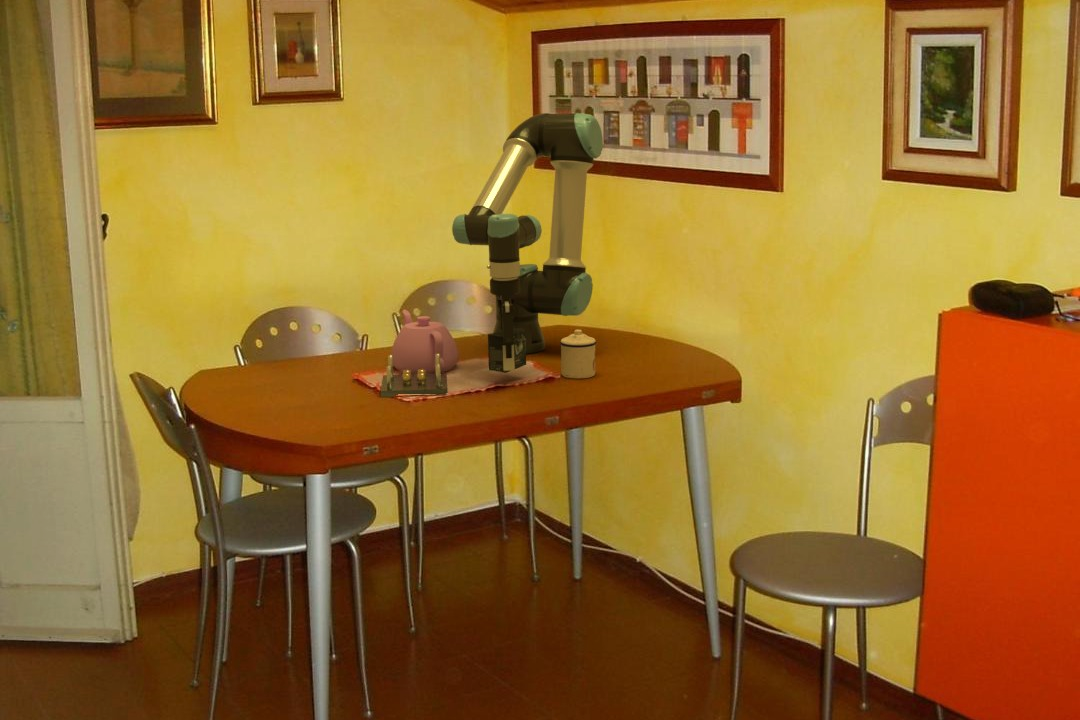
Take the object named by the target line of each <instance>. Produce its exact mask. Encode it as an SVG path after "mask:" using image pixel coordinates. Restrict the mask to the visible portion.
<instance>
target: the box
mask: <svg viewBox="0 0 1080 720" xmlns="http://www.w3.org/2000/svg"><path fill="white" fill-rule="evenodd" d="M513 335H514V366H515V370H516V369H519V368H521V367H524V366H526V365H527V354H526V329H520V328H513ZM506 340H508V339H506ZM500 342H503V330H500V331H498V332H495V333H493V332H492V333H488V334H487V347H488V348H487V349H488V355H487V356H488V371H490V372H498V373H502V374H503V373H504V374H507V373H509V372H512V371H513V370H510V371H504V369H503V346H500Z"/></svg>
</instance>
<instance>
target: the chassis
mask: <svg viewBox="0 0 1080 720" xmlns="http://www.w3.org/2000/svg"><path fill="white" fill-rule="evenodd" d="M435 360H436V365H435V367H436V373H435V374H426V370H425V369H419V370H418V373H417V374H411V370H403V372H402V374H394V365H393V355H391V354H389V355H387V365H386V367H385V368H386V374H383V375H382V380H381V387H380V398H392V397H393V398H394V397H395V396H396V395H398V394H446V393H448V376H447V375H448V374H447V372H442V373H441V366H440V354H439V353H437V354H435Z"/></svg>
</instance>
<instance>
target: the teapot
mask: <svg viewBox="0 0 1080 720" xmlns="http://www.w3.org/2000/svg"><path fill="white" fill-rule="evenodd" d="M402 316H403V326H402V327H401V329H400V330H399V332H398V334H397V335H396V337H395V339H394V341H393V345H392V347H391V352H390V355H393V367H394V368H395V369H396V370H398V371H399V372H401V373H403V370H411V374H417V373H418V370H419V369H425V370H426V374H435V373H436V367H435V365H436V360H435V354H437V353H439V354H440V366H441V373H447V372H448V371H451V370H452V369H453V368H454V367H455V366H456V365H457V363H458V361H459V359H460V356H459V350H458V348H457V347H458V346H457V343H456V341H455V339H454V337H453V336H452V334H451V332H450V331H449V329H448V328H447V326H445V324H443V323H442V322H439V321H430V320H431V317H430V316H428V315H421V316H417V317H416V321H413V318H412V316H411V313H410V311H408V310H407V309H403V310H402Z"/></svg>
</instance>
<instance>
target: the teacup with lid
mask: <svg viewBox="0 0 1080 720" xmlns="http://www.w3.org/2000/svg"><path fill="white" fill-rule="evenodd" d="M559 344H560V347H561V348H560V349H561V350H560V353H561V354H560V355H561V356H560V358H561V359H560V361H561V363H560V367H561V370H560V371H561V372H560V374H561V375H562V376H563V377H564V378H567V379H576V380H577V379H579V380H580V379H581V380H582V379H588V378H589V379H590V378H592V377H594V376H595V375H596V344H597V341H596V339H595V338H594V337H592V336H589V335H587V334H585V333H583V331H582V329H575V330H574V331H573V333H570V334H569V335H568V336H566V337H565V336H564V337H562V339H561V340H560V342H559Z"/></svg>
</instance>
